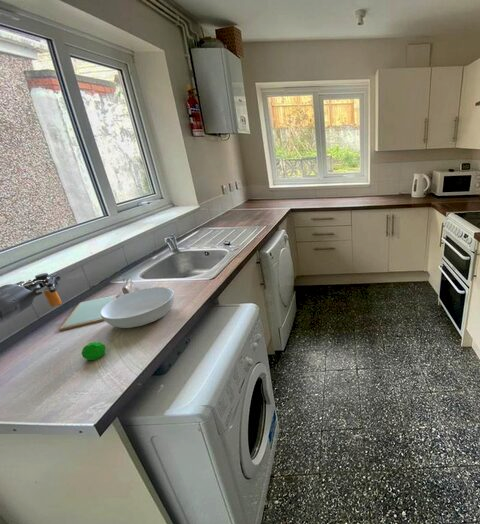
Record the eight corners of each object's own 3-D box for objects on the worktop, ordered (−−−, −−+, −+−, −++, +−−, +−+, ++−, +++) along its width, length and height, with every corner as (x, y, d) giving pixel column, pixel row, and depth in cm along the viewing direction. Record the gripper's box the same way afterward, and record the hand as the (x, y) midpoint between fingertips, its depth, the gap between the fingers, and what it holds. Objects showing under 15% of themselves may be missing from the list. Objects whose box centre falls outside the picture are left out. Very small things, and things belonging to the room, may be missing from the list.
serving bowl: (90, 337, 91) (82, 319, 88) (138, 303, 110) (131, 287, 107) (154, 335, 90) (147, 317, 87) (190, 301, 109) (185, 285, 106)
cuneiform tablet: (123, 278, 119) (116, 289, 109) (133, 275, 121) (128, 286, 111) (128, 290, 122) (122, 302, 112) (139, 287, 123) (134, 299, 113)
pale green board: (60, 332, 94) (59, 328, 94) (81, 305, 111) (79, 302, 111) (105, 321, 99) (104, 318, 99) (118, 297, 116) (117, 294, 115)
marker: (48, 307, 86) (33, 277, 82) (52, 303, 88) (37, 274, 85) (60, 305, 87) (45, 275, 84) (63, 301, 90) (49, 272, 86)
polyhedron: (95, 364, 79) (88, 350, 77) (81, 363, 79) (73, 349, 78) (112, 352, 83) (106, 339, 81) (98, 351, 84) (92, 337, 82)
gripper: (25, 287, 72) (72, 262, 87) (-42, 295, 69) (19, 268, 85) (39, 313, 74) (82, 284, 90) (-25, 322, 72) (31, 291, 88)
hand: (51, 277), depth 87 cm, fingers closed on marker, 2 cm apart
